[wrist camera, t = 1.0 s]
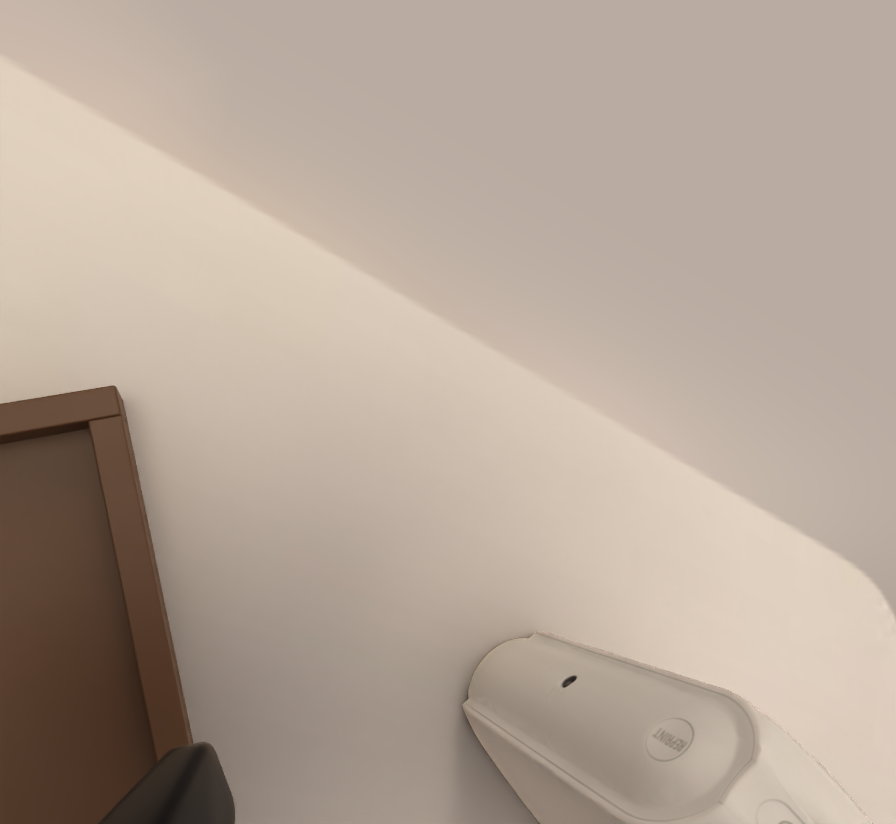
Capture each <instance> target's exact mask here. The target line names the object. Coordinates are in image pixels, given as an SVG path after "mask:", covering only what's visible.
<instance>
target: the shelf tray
mask: <svg viewBox="0 0 896 824" xmlns="http://www.w3.org/2000/svg"><path fill="white" fill-rule="evenodd" d="M190 744H193V739H192V734H191V730H190V725H189V720H188V715H187V710H186V705H185V700H184V696H183V691H182V686H181V681H180V676H179V671H178V666H177V661H176V657H175V652H174V647H173V642H172V637H171V632H170V627H169V623H168V618H167V613H166V608H165V603H164V598H163V593H162V588H161V584H160V579H159V574H158V569H157V564H156V559H155V554H154V550H153V545H152V540H151V535H150V530H149V525H148V520H147V515H146V511H145V506H144V501H143V496H142V491H141V486H140V481H139V477H138V472H137V467H136V462H135V457H134V452H133V447H132V442H131V438H130V433H129V428H128V423H127V418H126V413H125V408H124V404H123V400H122V398H121V396H120V394H119V392H118V390H117V388H116V387H115V386H107V387H101V388H95V389H89V390H83V391H77V392H71V393H65V394H59V395H52V396H46V397H40V398H34V399H28V400H22V401H16V402H10V403H4V404H0V824H98V823H99V822H100V821H101V820H102V819H103V818H104V817H105V816H106V815H107V814H108V813H109V812H110V811H111V810H112V808H113V807H114V806H115V805H116V804H117V803H118V802H119V801H120V800H121V799H122V798H123V797H124V796H125V795H126V794H127V793H128V792H129V791H130V790H131V789H132V788H133V787H134V786H135V785H136V784H137V783H138V782H139V781H140V780H141V778H142V777H143V776H144V775H145V774H146V773H147V772H148V771H149V770H150V769H151V768H152V767H153V766H154V765H155V764H156V763H157V762H158V761H159V760H160V759H161V758H162V757H163V756H164V755H165V754H166V753H167V752H168V751H169V750H171V749H173V748H176V747H180V746H185V745H190Z"/></svg>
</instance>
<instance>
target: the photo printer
mask: <svg viewBox="0 0 896 824" xmlns="http://www.w3.org/2000/svg"><path fill="white" fill-rule="evenodd" d="M462 707H463V710H464V712H465V714H466V716H467V719H468V721H469V723H470V725H471V727H472V729H473V731H474V733H475V734H476V736H477V738H478V739H479V741H480V743H481V744H482V746H483V747H484V749H485V750H486V752H487V753H488V754H489V756H490V757H491V759H492V760H493V762H494V763H495V764H496V766H497V767H498V769H499V770H500V771H501V773H502V774H503V776H504V777H505V778H506V780H507V781H508V782H509V784H510V785H511V786H512V788H513V789H514V790H515V792H516V793H517V795H518V796H519V797H520V799H521V800H522V801H523V803H524V804H525V805H526V806H527V808H528V809H529V810H530V811H531V813H532V814H533V815H534V817H535V818H536V819H537V820H538V822H539V823H540V824H873V823H872V822H871V820H870V819H869V818H868V817H867V815H866V814H865V813H864V812H863V811H862V809H861V808H860V807H859V806H858V804H857V803H856V802H855V801H854V800H853V799H852V797H851V796H850V795H849V794H848V793H847V792H846V791H845V790H844V788H843V787H842V786H841V785H840V784H839V783H838V782H837V781H836V780H835V778H834V777H833V776H832V775H831V774H830V773H829V772H828V771H827V769H826V768H825V767H824V766H823V765H822V764H821V763H820V762H819V761H817V760H816V759H815V758H814V757H813V756H812V755H810V754H809V753H808V752H807V751H806V750H805V749H804V748H803V747H802V746H801V745H800V744H799V743H798V742H797V741H796V740H795V739H794V738H793V737H792V736H790V735H789V734H788V733H787V732H786V731H785V730H784V729H783V728H782V727H781V726H779V725H778V724H777V723H776V722H774V721H773V720H772V719H771V718H770V717H768V716H767V715H766V714H764V713H763V712H762V711H760V710H759V709H758V708H756V707H755V706H754V705H752V704H751V703H750V702H748V701H747V700H745V699H744V698H742V697H740V696H738V695H736V694H734V693H733V692H731V691H729V690H726V689H723V688H720V687H717V686H713V685H710V684H706V683H703V682H700V681H697V680H694V679H691V678H687V677H684V676H681V675H678V674H675V673H672V672H669V671H666V670H663V669H659V668H656V667H653V666H650V665H647V664H643V663H640V662H637V661H634V660H631V659H628V658H625V657H622V656H619V655H616V654H613V653H609V652H606V651H603V650H600V649H597V648H593V647H590V646H587V645H584V644H581V643H578V642H575V641H572V640H569V639H566V638H563V637H560V636H557V635H554V634H551V633H548V632H543V631H537V632H536V633H535V634H533V635H532V636H531V637H530V638H517V639H512V640H509V641H506V642H504V643H502V644H500V645H499V646H497V647H496V648H494V649H493V650H492V651H491V652H489V653H488V654H487V655H486V656H485V658H484V659H483V660H482V661H481V663H480V664H479V665H478V667H477V668H476V670H475V672H474V674H473V677H472V679H471V682H470V685H469V689H468V700H467V701H465V702H464V703H463V706H462Z"/></svg>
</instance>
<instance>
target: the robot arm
mask: <svg viewBox="0 0 896 824" xmlns="http://www.w3.org/2000/svg"><path fill="white" fill-rule="evenodd" d="M98 824H235V808H234V801H233V797H232V794H231V791H230V788H229V786H228V783H227V780H226V778H225V775H224V773H223V770H222V767H221V765H220V762H219V759H218V757H217V754H216V752H215V750H214V748H213V747H212V746H211V745H210V744H209V743H205V742H201V743H196V744H190V745H185V746H180V747H176V748H173V749H171V750H169V751H168V752H167V753H166V754H165V755H164V756H163V757H162V758H161V759H160V760H159V761H158V762H157V763H156V764H155V765H154V766H153V767H152V768H151V769H150V770H149V771H148V772H147V773H146V774H145V775H144V776H143V777H142V778H141V780H140V781H139V782H138V783H137V784H136V785H135V786H134V787H133V788H132V789H131V790H130V791H129V792H128V793H127V794H126V795H125V796H124V797H123V798H122V799H121V800H120V801H119V802H118V803H117V804H116V805H115V806H114V807H113V808H112V810H111V811H110V812H109V813H108V814H107V815H106V816H105V817H104V818H103V819H102V820H101V821H100V822H99V823H98Z"/></svg>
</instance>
